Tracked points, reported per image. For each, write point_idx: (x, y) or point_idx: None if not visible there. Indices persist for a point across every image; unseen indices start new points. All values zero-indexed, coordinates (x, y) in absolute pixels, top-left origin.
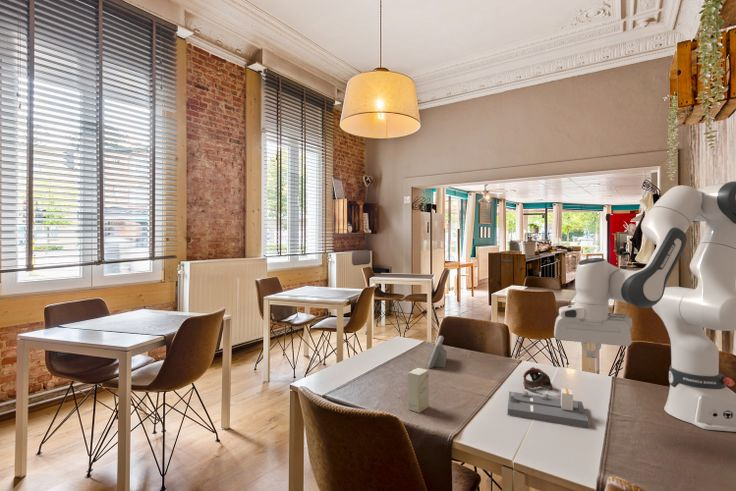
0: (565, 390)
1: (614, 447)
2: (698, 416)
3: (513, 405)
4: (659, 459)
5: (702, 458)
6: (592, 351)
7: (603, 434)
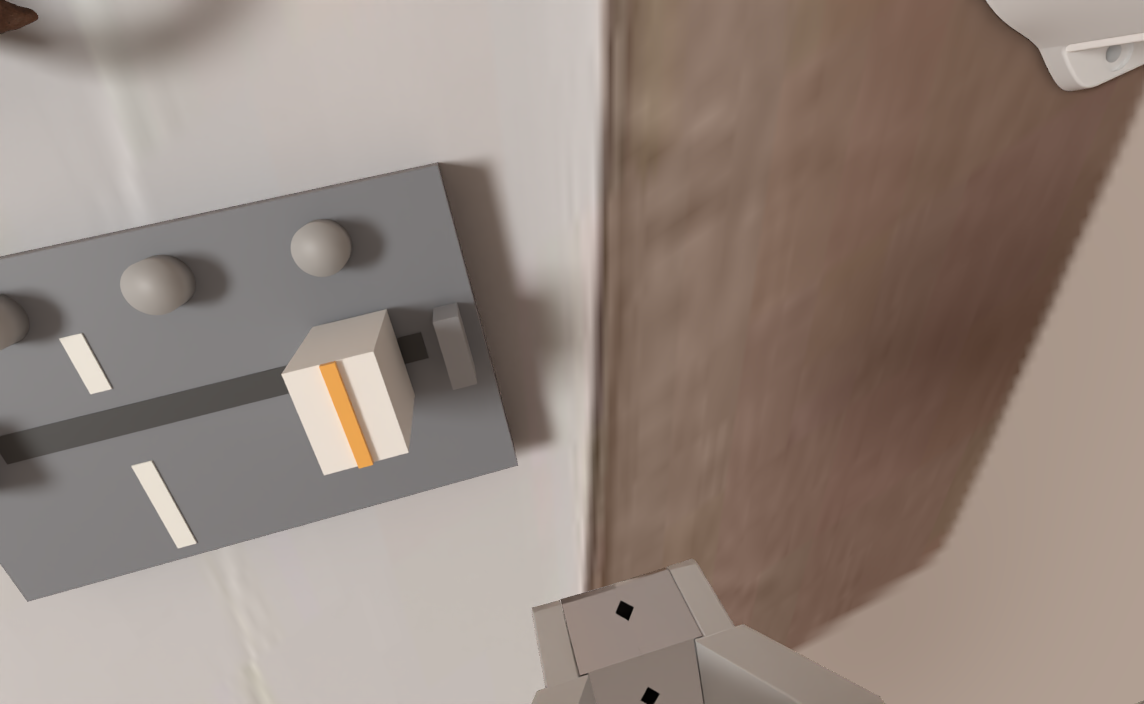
0: (333, 401)
1: (630, 552)
2: (1112, 45)
3: (31, 538)
4: (779, 536)
5: (930, 429)
6: (676, 687)
7: (585, 465)
